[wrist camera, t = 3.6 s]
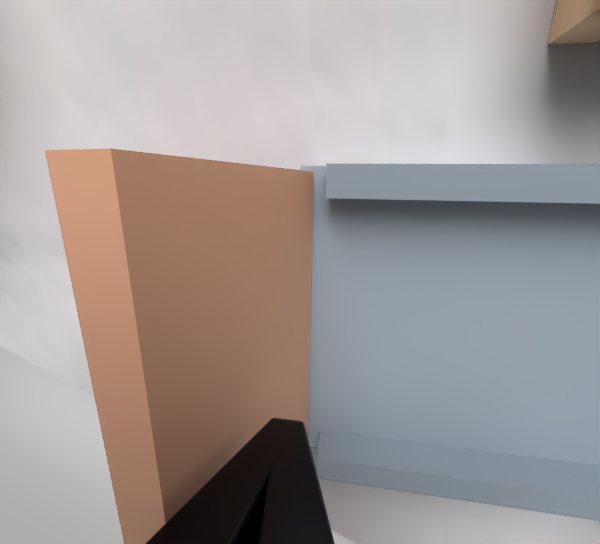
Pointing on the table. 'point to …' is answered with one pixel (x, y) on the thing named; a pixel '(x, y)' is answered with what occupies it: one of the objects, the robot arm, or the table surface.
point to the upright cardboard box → (575, 22)
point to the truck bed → (458, 331)
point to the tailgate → (185, 312)
